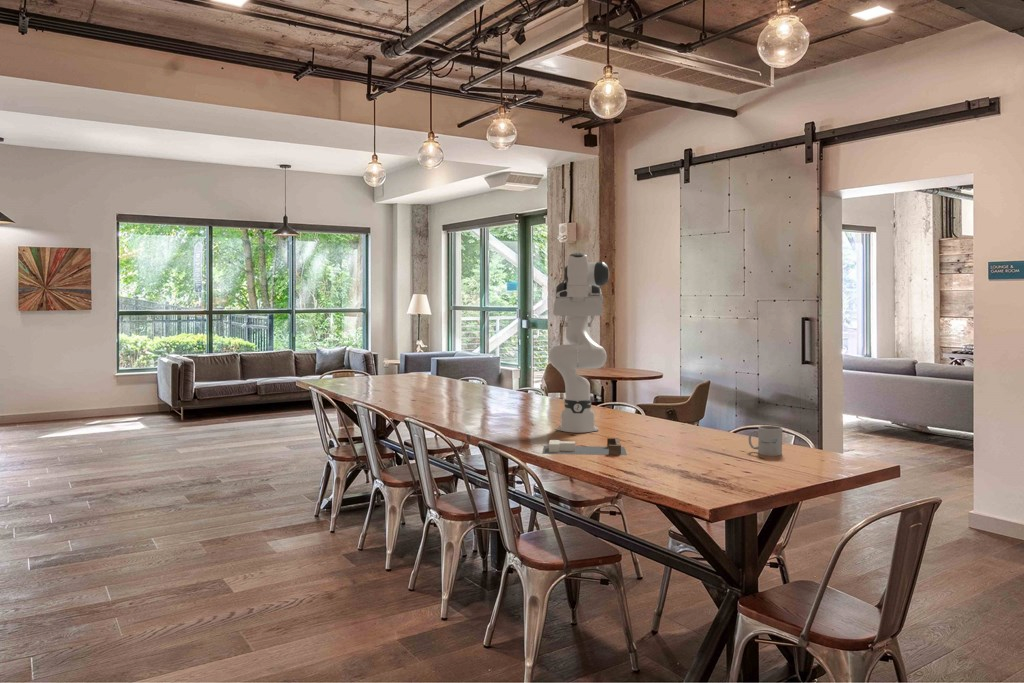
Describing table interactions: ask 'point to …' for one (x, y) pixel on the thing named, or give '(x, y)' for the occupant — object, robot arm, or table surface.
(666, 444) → the table surface
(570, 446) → the tee
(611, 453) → the dock
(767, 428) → the mug
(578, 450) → the mat
